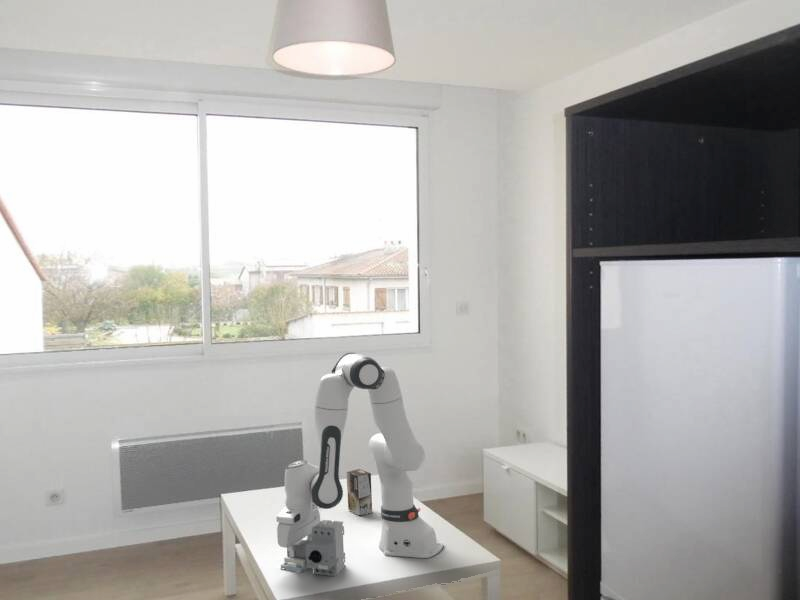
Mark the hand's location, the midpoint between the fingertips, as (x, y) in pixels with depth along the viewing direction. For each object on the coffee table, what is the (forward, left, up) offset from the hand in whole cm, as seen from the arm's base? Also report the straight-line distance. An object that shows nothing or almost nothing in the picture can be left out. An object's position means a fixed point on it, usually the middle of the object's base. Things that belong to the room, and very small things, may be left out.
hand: (300, 550), depth 245 cm
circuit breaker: (-12, +4, -4) cm, 13 cm away
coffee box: (+8, -52, -4) cm, 53 cm away
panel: (0, -1, -4) cm, 4 cm away
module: (0, 0, -3) cm, 3 cm away
